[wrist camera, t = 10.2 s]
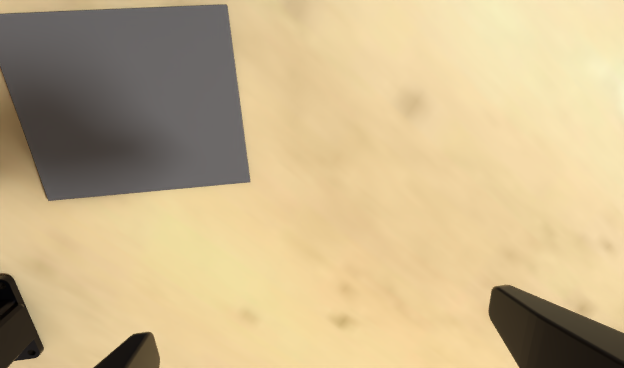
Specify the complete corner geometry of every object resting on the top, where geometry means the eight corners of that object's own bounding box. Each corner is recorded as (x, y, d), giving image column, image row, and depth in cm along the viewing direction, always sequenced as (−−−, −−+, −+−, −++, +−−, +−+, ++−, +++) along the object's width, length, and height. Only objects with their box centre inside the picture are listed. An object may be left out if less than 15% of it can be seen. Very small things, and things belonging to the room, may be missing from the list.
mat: (51, 199, 19) (48, 200, 19) (-14, 15, 16) (-19, 14, 16) (250, 180, 20) (249, 182, 20) (227, 5, 17) (226, 4, 17)
